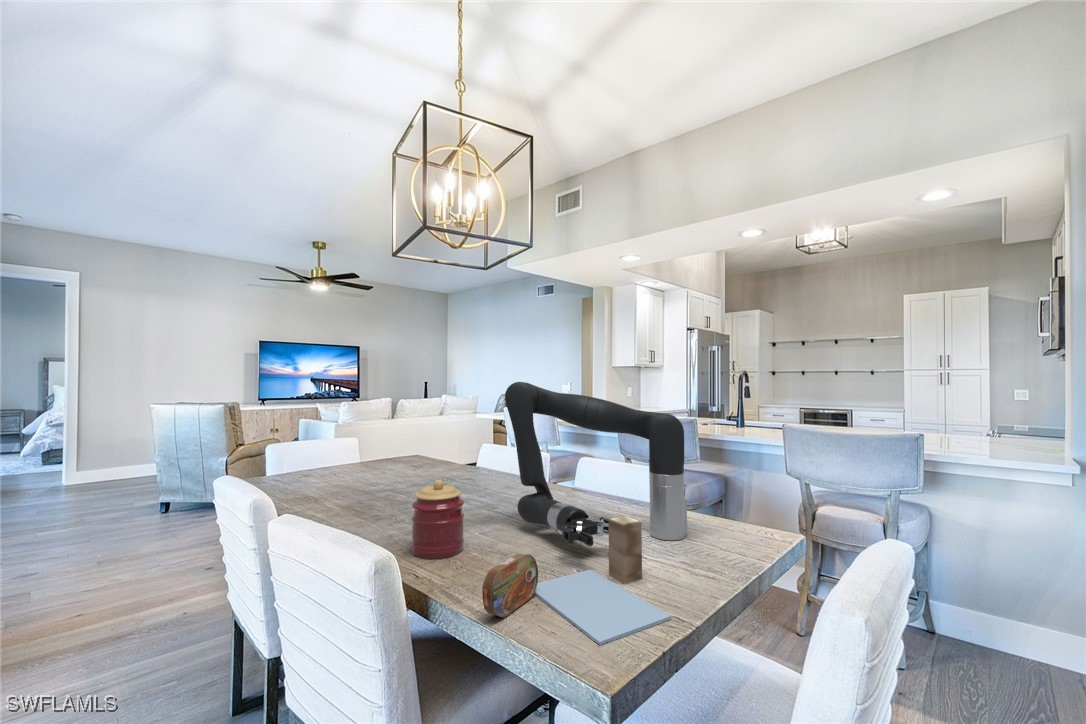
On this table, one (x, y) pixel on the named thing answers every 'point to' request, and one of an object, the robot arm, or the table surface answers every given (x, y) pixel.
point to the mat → (598, 606)
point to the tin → (510, 585)
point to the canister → (437, 522)
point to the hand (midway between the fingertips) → (607, 538)
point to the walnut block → (625, 549)
